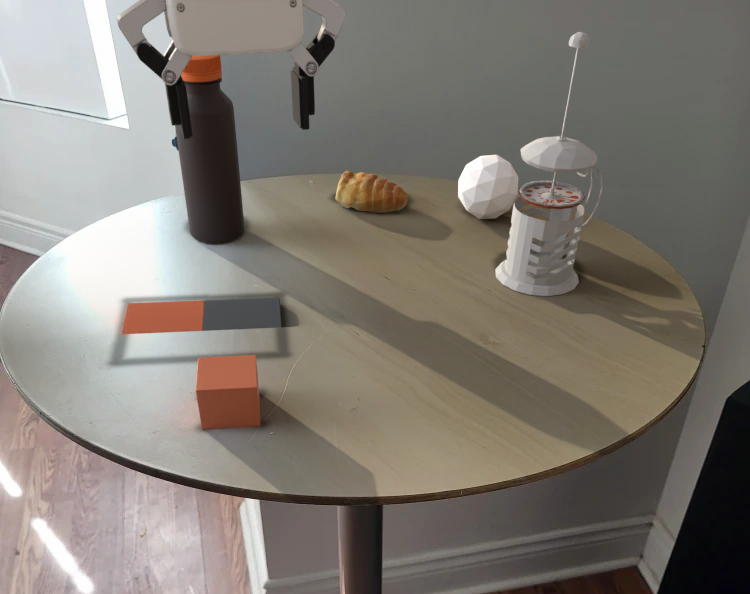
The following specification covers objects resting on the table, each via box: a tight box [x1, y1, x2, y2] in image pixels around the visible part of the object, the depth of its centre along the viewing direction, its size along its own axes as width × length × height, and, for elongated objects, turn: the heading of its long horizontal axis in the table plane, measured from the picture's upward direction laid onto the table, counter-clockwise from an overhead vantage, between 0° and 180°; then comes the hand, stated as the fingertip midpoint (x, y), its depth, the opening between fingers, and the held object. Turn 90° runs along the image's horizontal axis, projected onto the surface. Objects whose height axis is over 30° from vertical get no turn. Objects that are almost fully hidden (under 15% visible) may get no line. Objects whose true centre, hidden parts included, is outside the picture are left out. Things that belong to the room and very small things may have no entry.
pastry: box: [335, 170, 409, 214], centre depth 104 cm, size 9×7×4 cm
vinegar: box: [174, 55, 246, 245], centre depth 90 cm, size 7×7×20 cm
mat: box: [121, 297, 283, 335], centre depth 79 cm, size 16×12×1 cm
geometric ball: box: [457, 154, 519, 220], centre depth 101 cm, size 8×8×8 cm
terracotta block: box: [195, 354, 262, 430], centre depth 67 cm, size 5×5×5 cm
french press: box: [494, 31, 604, 297], centre depth 83 cm, size 10×12×25 cm
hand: (244, 129), depth 64 cm, fingers open, 9 cm apart
